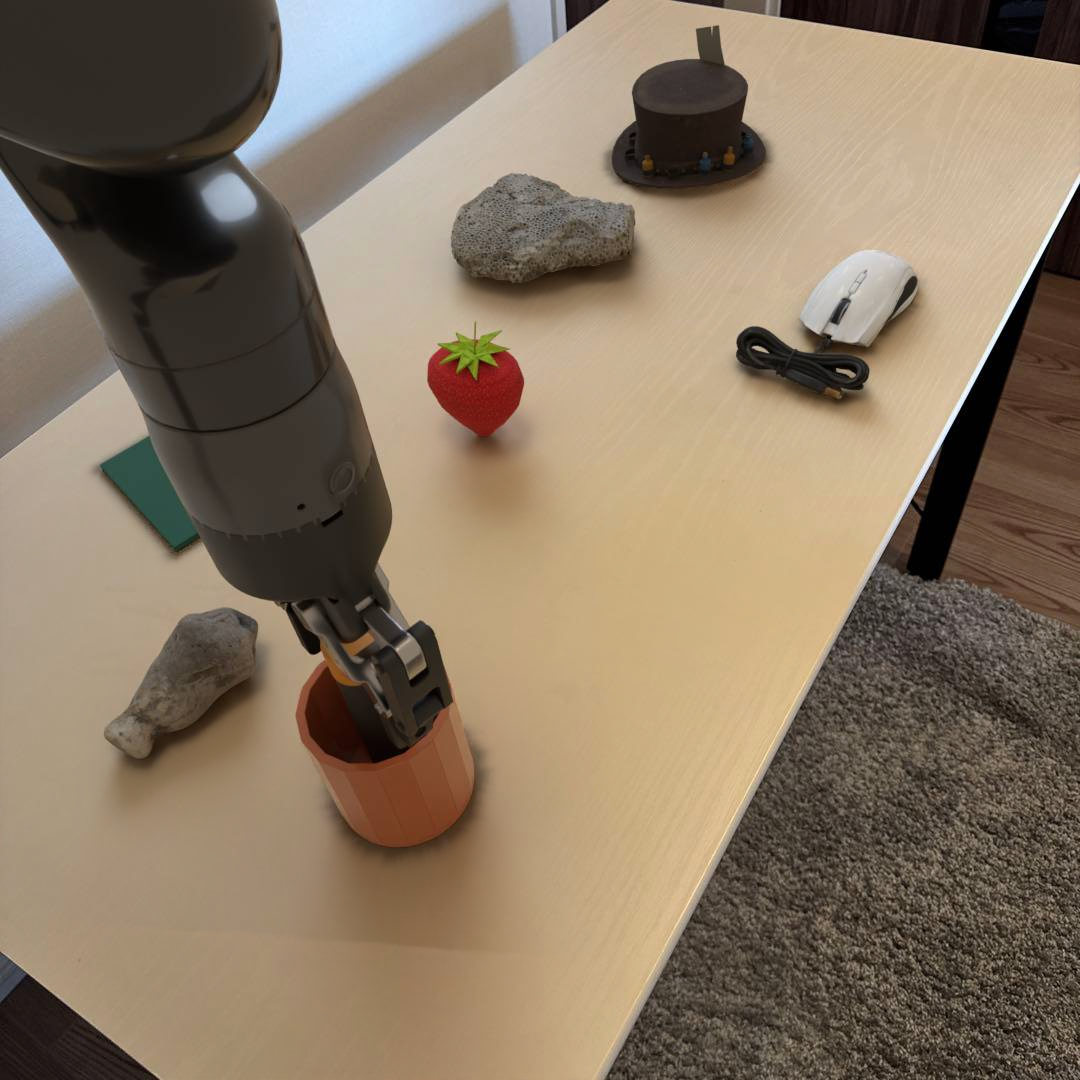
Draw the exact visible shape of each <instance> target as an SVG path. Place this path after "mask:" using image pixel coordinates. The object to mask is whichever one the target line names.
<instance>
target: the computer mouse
mask: <svg viewBox="0 0 1080 1080" xmlns="http://www.w3.org/2000/svg"><path fill="white" fill-rule="evenodd" d="M813 289H814V290H813V291H812V292H811V294H810V296H809V298H808V300H807V302H806V303H805V305H804V307H803V308H802V311H801V313H800V315H799V317H798V321H800V322H801V323H802V324H803V325H804V326H805V327H806V328H807V329H808V330H810V331H811V332H813V333H815V334H816V335H818V336H819V337H821V338H825V339H822V340H820V343H819V345H818V346H817V347H816V348H815V350H814V351H813V352H806V351H801V350H798V349H797V348H793V347H791V346H790V345H789V344H787V343H785V342H784V341H783V340H781V339H780V338H779V337H778V336H777V335H776V334H774V333H773V332H771V331H770V330H769V329H766V328H765V327H762V326H758V325H750V326H748V327H746V328H744V329H743V330H742V331H741V332H740V333H739V334H738V335H737V337H736V340H735V341H736V342H735V345H736V347H737V349H736V352H735V357H736V359H737V361H738V362H739V363H740V364H742V365H744V366H747V367H750V368H752V369H755V370H761V371H762V370H767V371H768V370H769V371H770V370H771V371H775V375H777V376H780V377H781V378H785V379H786V380H788V381H790V382H792V383H795V384H797V385H799V386H800V387H801V386H802V387H804V388H805V389H808V390H810V391H812V392H814V393H817V394H820V395H825V394H826V395H830V396H832V397H834V398H836V399H838V400H840V399H842V397H843V395H844V391H843V390H848V391H861V390H863V389H864V387H865V385H864V384H865V383H866V382H867V381H868V379H869V376H870V366H869V364H868V363H867V361H865V360H864V359H862V358H861V357H860V356H857V355H853V354H848V353H832V352H831V353H830V352H829V353H828V352H827V353H825V352H822V353H821V352H820V351H821V350H822V349H823V350H825V349H827V348H828V347H830V345H832V344H833V342H835V343H842V344H847V345H853V346H860V347H866V348H868V347H870V346H871V344H872V343H873V342H874V341H875V339H876V338H877V336H878V335H879V333H880V331H881V330H882V329H883V328H885V326H886V325H887V324H889V322H890V321H891V320H893V319H894V318H896V317H897V316H898V315H900V314H901V313H902V312H903V311H905V310H906V309H907V307H909V305H910V304H911V303H912V301H913V299H915V296H916V294H917V292H918V289H919V279H918V276H917V273H916V272H915V270H914V268H913V266H912V265H911V264H910V263H909V262H907V261H906V260H904V259H903V258H902V257H901V256H898V255H896V254H894V253H891V252H888V251H884V250H879V249H864V250H860V251H856V252H855V253H853V254H851V255H849V256H848V257H846V258H845V259H843V260H842V261H841V262H840V263H839V264H837V265H836V266H835V267H833V269H832V270H831V271H829V272H828V273H827V275H825V276H824V277H823V278H822V279H821V280H820V281H819V282H818V283H817V284H816V286H815V288H813ZM753 347H760V348H762V349H763V350H766V351H762V350H758V349H756V348H753ZM837 370H843V371H850V372H851V373H852V374H854V376H852V377H851V376H850V375H848V374H846V373H844V372H839V371H837ZM842 389H843V390H842Z"/></svg>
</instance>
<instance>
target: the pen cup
mask: <svg viewBox="0 0 1080 1080" xmlns="http://www.w3.org/2000/svg"><path fill="white" fill-rule="evenodd" d="M444 668H445V672H446V675H447V679H448V683H449V687H450V691H451V694H452V698H453V703H452V704H450V705H449V706H448V707H447V708H445V709H443V710H441V711H440V712H439V713H438V714H436V715H435V716H434V717H433V729H432V730H431V731H430V732H428V733H427V734H426V735H425V736H423V737H422V738H421V739H420V740H418V741H417V742H416V744H415V745H414V746H413V747H411V748H410V749H409V750H408V751H406V752H405V753H404V754H401V755H398V756H396V757H393V758H390V759H387V760H385V761H382V762H379V763H373V762H372V760H371V758H370V755H369V753H368V751H367V749H366V747H365V744H364V742H363V740H362V738H361V735H360V733H359V731H358V729H357V727H356V724H355V722H354V720H353V718H352V715H351V713H350V711H349V709H348V707H347V704H346V702H345V700H344V698H343V695H342V693H341V691H340V689H339V687H338V684H337V682H336V680H335V678H334V677H333V675H332V674H331V671H330V669H329V667H328V665H327V663H326V660H325V659H324V660H322V661H321V662H320V663H318V664H317V666H316V667H315V668H314V670H313V672H312V673H311V674H310V675H309V677H308V678H307V680H306V681H305V682H304V684H303V686H302V687H301V689H300V693H299V697H298V701H297V706H296V709H295V720H296V725H297V730H298V734H299V738H300V741H301V743H302V745H303V747H304V748H305V751H306V752H307V754H308V756H309V758H310V760H311V762H312V763H313V766H314V768H315V769H316V771H317V772H318V774H319V776H320V778H321V780H322V782H323V784H324V785H325V787H326V790H327V791H328V793H329V795H330V796H331V798H332V800H333V802H334V804H335V806H336V808H337V810H338V812H339V813H340V815H341V816H342V817H343V818H344V820H345V821H346V823H347V824H348V825H349V827H350V828H351V829H352V830H353V831H354V833H356V834H357V835H359V836H360V837H362V838H363V839H365V840H367V841H369V842H370V843H373V844H375V845H379V846H384V847H388V848H407V847H412V846H413V847H414V846H417V845H420V844H424V843H426V842H429V841H430V840H431V841H432V840H433V839H435V838H436V837H439V836H440V835H441V834H442V833H444V832H446V831H447V830H448V829H450V827H451V826H453V825H454V824H455V823H456V822H457V820H458V819H459V818H460V817H461V816H462V815H463V812H464V811H465V810H466V808H467V806H468V804H469V802H470V800H471V798H472V794H473V791H474V785H475V762H474V759H473V756H472V753H471V748H470V745H469V741H468V739H467V735H466V731H465V728H464V725H463V721H462V718H461V714H460V711H459V707H458V704H457V701H456V698H455V694H454V689H453V687H452V684H451V682H450V678H449V675H448V673H447V669H446V666H444Z"/></svg>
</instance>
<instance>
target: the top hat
mask: <svg viewBox="0 0 1080 1080" xmlns="http://www.w3.org/2000/svg"><path fill="white" fill-rule="evenodd" d="M695 35H696V36H695V37H696V45H697V51H698V57H699V58H683V59H674V60H670V61H665V62H663V63H660V64H657V65H654V66H652V67H651V68H649V69H647V70H646V71H644V72H643V73H642V74H640V76H638V78H636V80H635V81H634V83H633V84H632V85H633V86H632V87H631V88H632V89H631V98H632V103H633V110H634V116H635V120H634V121H633V122H631V124H629V125H628V126H626V128H625V129H624V130H623V131H622V132H621V133H620V135H619V136H618V137H617V139H616V141H615V143H614V145H613V147H612V152H611V164H612V169H613V171H614V172H615V174H616V176H618V177H619V178H621V179H622V180H623V181H625V182H628V183H630V184H633V185H635V186H640V187H645V188H651V189H660V190H679V189H693V188H694V189H695V188H703V187H709V186H714V185H719V184H724V183H727V182H731V181H735V180H738V179H740V178H743V177H746V176H749V174H752V173H753V172H755V171H756V170H758V169H759V168H760V167H761V166H762V165H763V164H764V162H765V160H766V156H767V155H766V153H767V150H766V147H765V143H764V142H763V140H762V139H761V138H760V136H759V134H758V133H757V132H756V131H755V130H754V129H753V128H752V127H750V126H749V125H748V124H746V123H745V122H744V121H743V118H744V112H745V107H746V103H747V97H748V93H749V84H748V81H747V79H746V78H745V77H744V76H743V74H742V73H740V72H739V71H737V70H736V69H734V68H733V67H730V66H729V65H727V64H726V63H725V59H724V53H723V49H722V43H721V40H722V39H721V31H720V25H719V24H717V25H712V26H711V25H710V26H704V27H698V28H697V27H696V28H695Z"/></svg>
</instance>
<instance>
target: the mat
mask: <svg viewBox="0 0 1080 1080" xmlns="http://www.w3.org/2000/svg"><path fill="white" fill-rule="evenodd" d="M99 467H100V468H101V470H102V471H103V472H104V474H106V475H107V477H108V478H109V479H110V480H111V481H112V482H113V484H115V486H116V487H117V488H118V489H119V490H120V491H121V492H122V493H123V494H124V496H126V498H127V499H128V501H130V502H131V503H132V504H133V505H134V507H135V508H136V509H137V510H138V511H139V513H141V514H142V516H144V518H145V519H146V520H147V522H149V524H151V525H152V527H153V528H154V530H156V531H157V532H158V533H159V534H160V535H161V537H162V538H163V539H164V540H165V541H166V543H168V544H169V545H170V547H171V548H172V549H173V550H174V551H175V552H178V551H181V550H182V549H183V548H185V547H187V546H188V545H190V544H191V543H193V542H194V541H196V540H197V539H199V538H200V536H199V534H198V532H197V530H196V528H195V526H194V525H193V523H192V521H191V519H190V517H189V515H188V513H187V511H186V510H185V508H184V506H183V504H182V502H181V500H180V498H179V496H178V495H177V493H176V491H175V489H174V487H173V485H172V483H171V481H170V479H169V478H168V476H167V474H166V472H165V470H164V468H163V466H162V464H161V462H160V461H159V458H158V456H157V454H156V452H155V450H154V447H153V445H152V442H151V439H150V436H149V435H148V436H146V437H145V438H143V439H141V440H139V441H138V442H135V444H133V445H130V446H129V447H127V448H126V449H124V450H122V451H121V452H119V453H117V454H116V455H114V456H112V457H110V458H108V459H107V460H105V461H104V462H102V463H100V464H99Z"/></svg>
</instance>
